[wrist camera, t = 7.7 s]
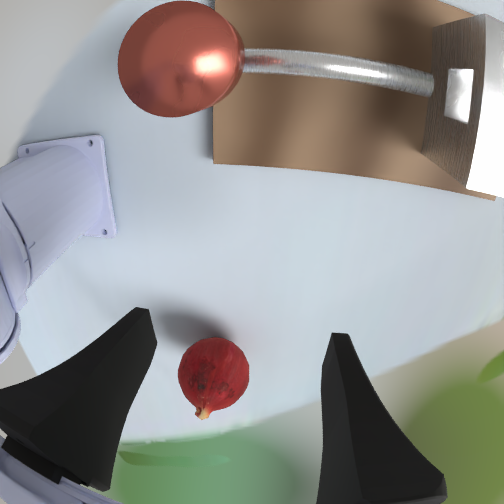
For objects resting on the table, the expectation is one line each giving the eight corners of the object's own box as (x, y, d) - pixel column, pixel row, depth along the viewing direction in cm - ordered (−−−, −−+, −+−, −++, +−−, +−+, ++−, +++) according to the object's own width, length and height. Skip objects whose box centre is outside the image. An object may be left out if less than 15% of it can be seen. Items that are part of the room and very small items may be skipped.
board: (216, 160, 19) (213, 163, 18) (219, -23, 13) (216, -27, 12) (489, 196, 17) (494, 201, 16) (510, 36, 11) (516, 36, 10)
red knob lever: (182, 102, 16) (119, 120, 10) (182, 31, 14) (118, 12, 8) (401, 120, 15) (458, 147, 9) (407, 47, 12) (468, 35, 7)
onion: (188, 313, 26) (156, 389, 19) (255, 321, 25) (239, 403, 19) (195, 356, 29) (172, 425, 22) (254, 364, 28) (241, 438, 22)
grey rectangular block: (420, 153, 16) (466, 188, 11) (432, 27, 12) (485, 13, 7) (453, 160, 16) (504, 197, 11) (466, 39, 11) (525, 34, 6)
